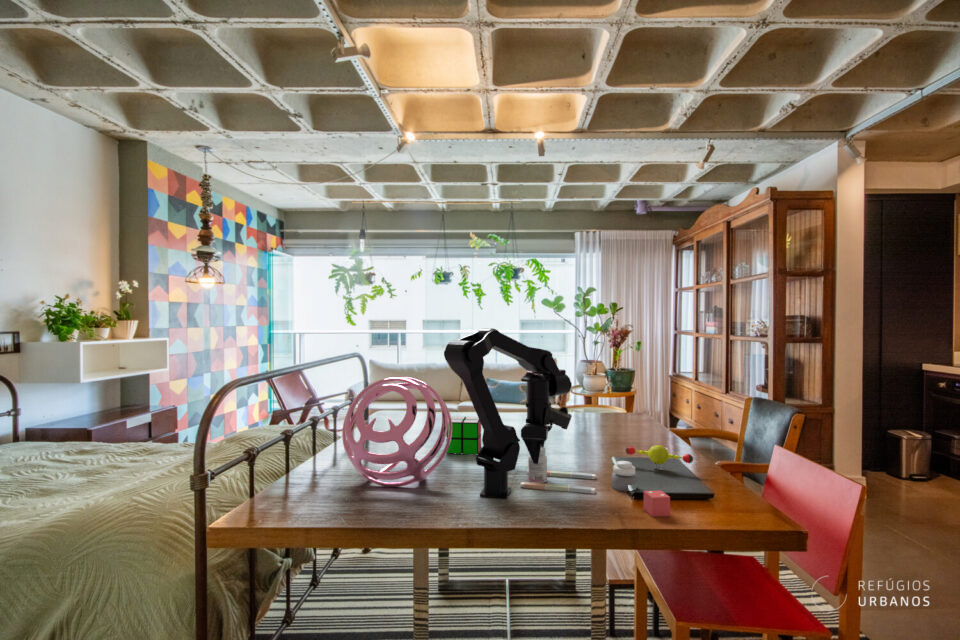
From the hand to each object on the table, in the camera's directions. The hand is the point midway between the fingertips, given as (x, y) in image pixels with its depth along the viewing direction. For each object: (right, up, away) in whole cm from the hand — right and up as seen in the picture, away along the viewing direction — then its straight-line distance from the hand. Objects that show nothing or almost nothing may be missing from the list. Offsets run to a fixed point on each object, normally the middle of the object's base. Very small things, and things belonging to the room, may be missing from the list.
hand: (538, 458), depth 126 cm
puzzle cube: (-20, -6, +30) cm, 36 cm away
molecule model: (+35, -6, +10) cm, 37 cm away
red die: (+23, -6, -21) cm, 32 cm away
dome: (+21, -2, -5) cm, 21 cm away
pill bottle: (0, -6, 0) cm, 6 cm away
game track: (+10, -6, -3) cm, 12 cm away
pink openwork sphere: (-37, -6, -1) cm, 37 cm away
